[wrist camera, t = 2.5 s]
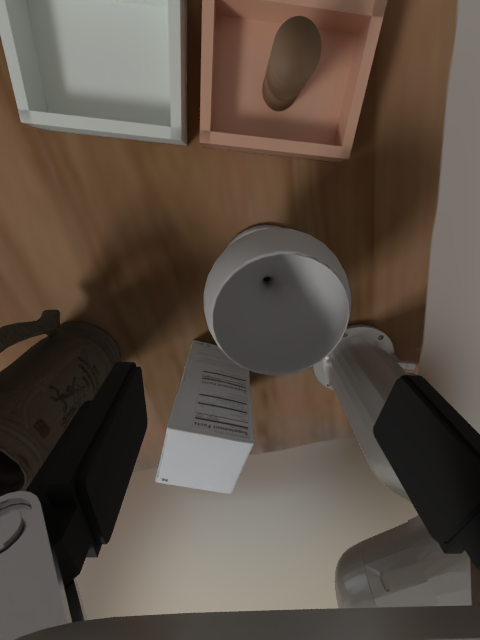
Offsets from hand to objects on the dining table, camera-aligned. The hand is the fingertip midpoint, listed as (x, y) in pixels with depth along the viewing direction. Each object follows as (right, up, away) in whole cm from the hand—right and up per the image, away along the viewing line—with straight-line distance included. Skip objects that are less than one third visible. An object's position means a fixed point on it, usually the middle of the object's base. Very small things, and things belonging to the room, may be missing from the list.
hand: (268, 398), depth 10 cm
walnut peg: (+3, +26, +16) cm, 31 cm away
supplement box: (-5, -5, +33) cm, 34 cm away
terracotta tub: (+3, +26, +17) cm, 32 cm away
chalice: (+2, +10, +26) cm, 28 cm away
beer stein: (-26, 0, +30) cm, 40 cm away
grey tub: (-14, +28, +16) cm, 35 cm away
